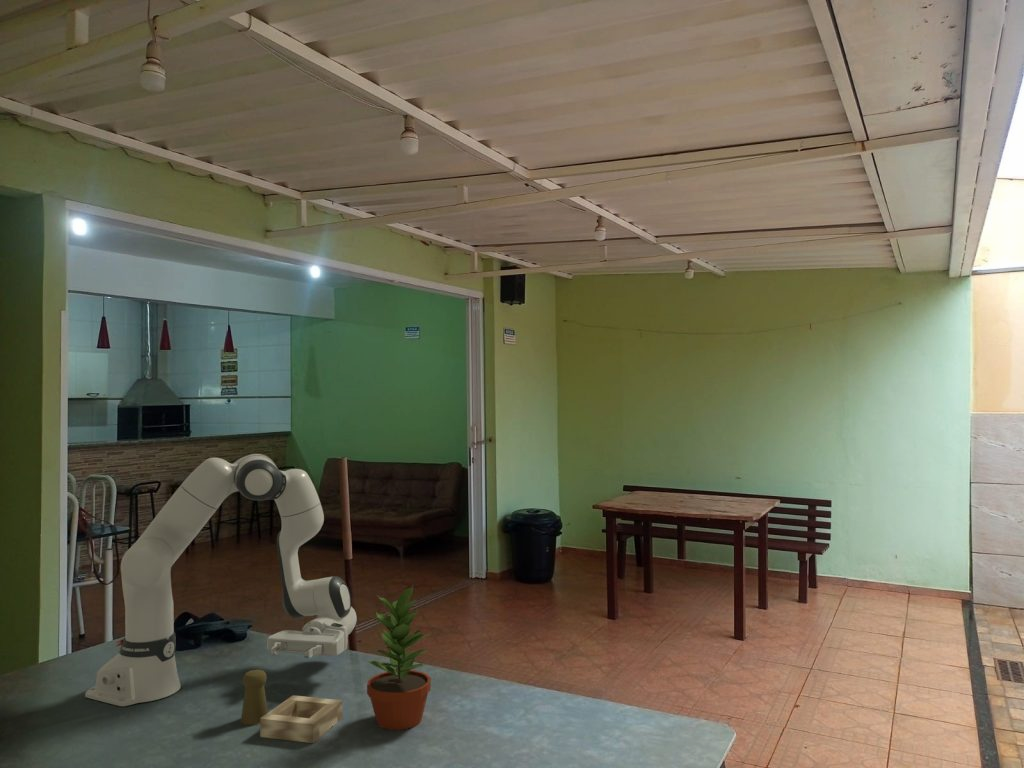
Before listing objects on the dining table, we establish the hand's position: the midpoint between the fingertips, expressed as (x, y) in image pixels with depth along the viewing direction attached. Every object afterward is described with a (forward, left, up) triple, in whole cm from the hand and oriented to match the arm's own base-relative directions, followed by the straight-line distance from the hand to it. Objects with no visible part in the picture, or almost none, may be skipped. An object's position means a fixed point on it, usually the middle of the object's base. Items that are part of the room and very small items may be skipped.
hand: (289, 653), depth 184 cm
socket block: (+13, -16, -10) cm, 23 cm away
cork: (0, -15, -11) cm, 18 cm away
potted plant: (+33, -8, -11) cm, 35 cm away
